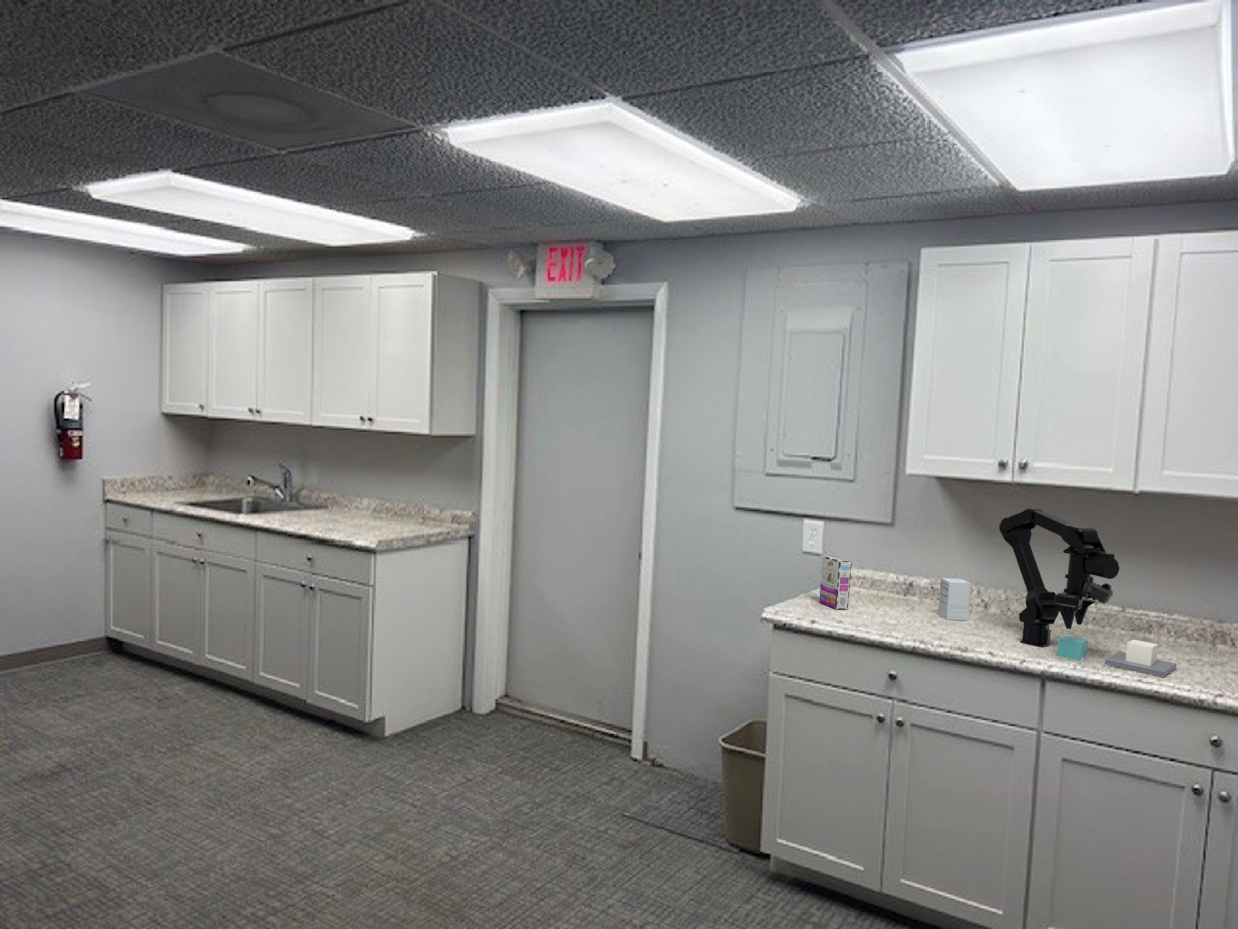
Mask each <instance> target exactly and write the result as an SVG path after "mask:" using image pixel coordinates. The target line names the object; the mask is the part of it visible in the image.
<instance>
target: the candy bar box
mask: <svg viewBox="0 0 1238 929" xmlns="http://www.w3.org/2000/svg"><path fill="white" fill-rule="evenodd" d="M852 564H853V561H851V560H848V559H846V558H843V557H839V556H836V555H835V556H834V555H823V556H822V564H821V577H820V588H819V591H820V592H819V602H818V603H819V604H821V605H823V606H826V607H829V608H831V609H834V610H838V611H840V610H842V611H843V610H845V611H846V610H849V602H850V587H851V579H852V578H851V576H852Z"/></svg>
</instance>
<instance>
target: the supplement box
mask: <svg viewBox="0 0 1238 929" xmlns="http://www.w3.org/2000/svg"><path fill="white" fill-rule="evenodd" d="M939 586H940V587H939V598H938V610H937V611H938V612H937V614H938V616H939V617H941V618H943V619H944V620H947V621H948V620H949V621H967V622H968V621H969V612H970V599H971V598H970V597H971V587H972V584H971V582H970V581H967V580H965V579H963V578H951V577H940V584H939Z"/></svg>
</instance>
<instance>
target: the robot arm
mask: <svg viewBox="0 0 1238 929" xmlns="http://www.w3.org/2000/svg"><path fill="white" fill-rule="evenodd" d="M1037 526H1039V527H1041V528H1043V529H1044V530H1047V531H1049V532H1051V533H1053V534H1056V535H1057V536H1059V537H1060V538H1061V540H1062V541H1063V542H1064V543H1066V544H1067V545H1068V547H1067V548H1065V549H1064V550H1063V551H1062V552H1063V554H1066V555H1069V556H1068V567H1067V573H1065V574H1064V578H1065V579H1066V587H1065V588H1063V591H1061V592H1059V593H1057V594H1056V592H1055V591H1049V590H1048V589H1047V588H1046V587H1045V586H1046V585H1045V583H1044V581H1043V578H1042V575H1041V572H1040V570H1039V566H1038V564H1037V561H1036V558H1035V556H1034V552H1033V549H1032V546H1031V543H1030V542H1031V539H1032V535H1033V534H1032V530H1034V529H1035V528H1036V527H1037ZM998 528H999V532H1000V533H1001V536H1002V538H1003V539H1004V541H1005V543H1007V544H1008V545H1009V546H1010V547H1011V548H1012V550H1013V554H1014V556H1015V559H1016V562H1017V565H1018V568H1019V571H1020V573H1021V577H1022V580H1023V582H1024V586H1025V588H1026V591H1027V593H1026V597H1025V602H1024V603H1025V607H1024V609H1023V610H1022V611H1020V612H1019V613H1018V619H1019V621H1020V623H1023V629H1022V639H1020V640H1019V642H1020V643H1024V644H1027V645H1032V646H1037V647H1041V648H1042V647H1046V646H1048V645H1051V633H1052V631H1051V630H1052V629H1050V625H1054V624H1055V623H1056V622H1055V621H1056V619H1057V618H1058V616H1059V613H1060V615H1061V618H1062V620H1063V623H1064V626H1065V627H1066V629H1067V630H1071V629H1072V626H1073V623H1074V620H1075V622H1076V624H1077V625H1081V626H1082V624H1083V622H1084V619H1085V616H1086V614H1087V612H1088V609H1089V607H1090V606H1092V605H1094V604H1096V603H1097V601H1098V602H1099V603H1101V604H1106V603H1109V601H1110V599H1111V597H1112V596H1113V595H1114V594H1113V592H1114V590H1112V585H1111V584H1109V583H1107V582H1105V583H1103V584H1100V583H1099V584H1098V583H1096V582H1094V580H1095V579H1094V577H1093V576H1095V577H1099V578H1103V579H1108V580H1112V579H1115V578H1116V577H1117V576H1118V575H1119V572H1120V565H1119V562H1118V560H1117V559H1116V558H1115V554H1114V553H1108V552H1106V550H1105V549H1106V548H1104V546H1103V544H1102V542H1101V539H1100V537H1099V534H1098V531H1097V530H1096V529H1095V528H1093V527H1089V526H1085V525H1079V524H1074V523H1070V522H1067V521H1066V520H1063V519H1062V518H1059V517H1057V516H1054V515H1052V514H1050V513H1048V512H1046V511H1044V510H1042V509H1041V508H1031V507H1030V508H1026V509H1025V510H1023V511H1020V512H1018V513H1015V514H1013V515H1011V516H1009V517H1004V518H1003V519H1001V521H1000V523H999V525H998ZM1091 599H1092V600H1091Z"/></svg>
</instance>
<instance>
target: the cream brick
mask: <svg viewBox="0 0 1238 929" xmlns="http://www.w3.org/2000/svg"><path fill="white" fill-rule="evenodd" d="M1158 646H1159V644H1158V643H1157V644H1156V643H1153V642H1147V641H1142V640H1138V639H1132V640H1130V641H1127V642H1126V651H1125V653H1126V661H1129V662H1134V663H1139V664H1143V665H1148V666H1151V665H1153V664H1155V663H1156V660H1158Z"/></svg>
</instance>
